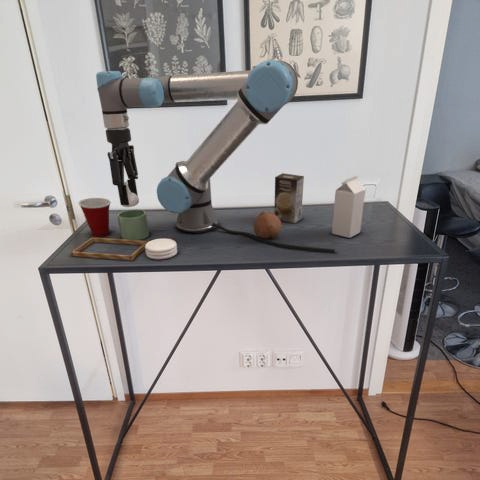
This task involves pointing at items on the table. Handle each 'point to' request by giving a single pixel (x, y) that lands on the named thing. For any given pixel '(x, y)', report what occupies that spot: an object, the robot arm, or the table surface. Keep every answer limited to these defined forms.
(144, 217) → the cup
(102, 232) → the plastic cup
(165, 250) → the coaster
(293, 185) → the coffee box
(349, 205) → the milk carton
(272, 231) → the onion
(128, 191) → the garlic bulb
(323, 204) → the table surface
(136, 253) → the frame
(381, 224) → the table surface
